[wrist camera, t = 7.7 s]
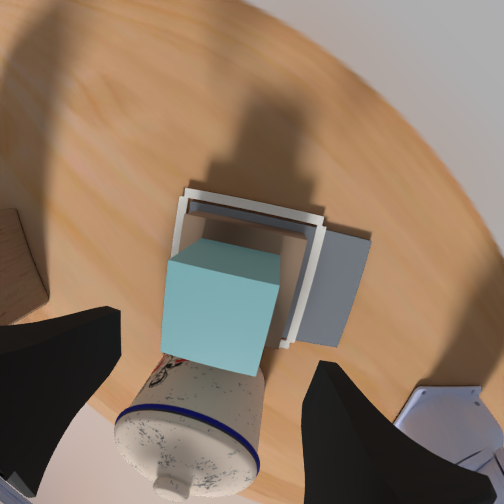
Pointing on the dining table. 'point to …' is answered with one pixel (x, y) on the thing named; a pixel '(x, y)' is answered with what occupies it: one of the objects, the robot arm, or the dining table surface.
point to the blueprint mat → (312, 269)
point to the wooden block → (17, 272)
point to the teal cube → (219, 305)
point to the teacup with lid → (194, 429)
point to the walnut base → (255, 238)
